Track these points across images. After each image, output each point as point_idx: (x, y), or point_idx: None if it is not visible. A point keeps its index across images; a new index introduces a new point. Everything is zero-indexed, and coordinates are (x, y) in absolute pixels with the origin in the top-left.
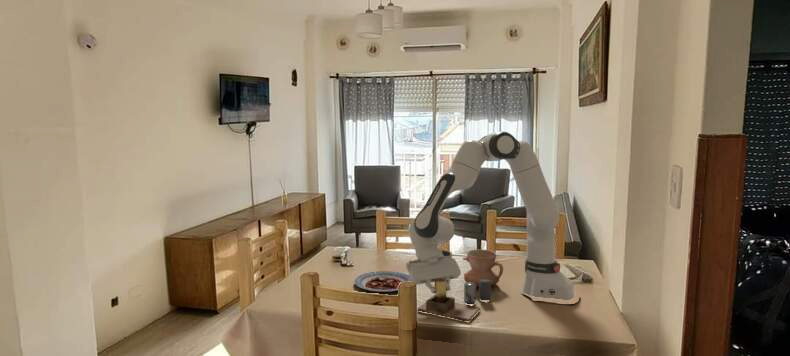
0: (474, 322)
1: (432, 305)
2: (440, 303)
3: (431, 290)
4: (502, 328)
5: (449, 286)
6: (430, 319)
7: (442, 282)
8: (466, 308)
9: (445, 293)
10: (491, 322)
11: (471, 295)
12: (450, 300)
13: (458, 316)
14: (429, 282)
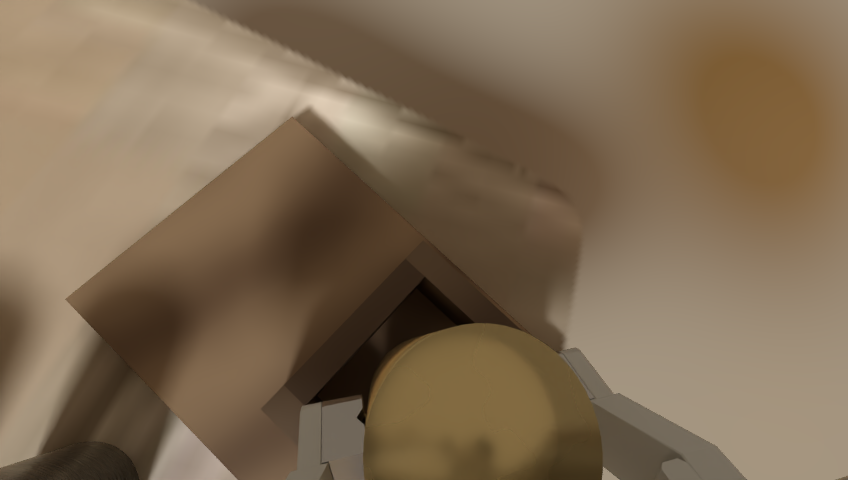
0: (253, 133)
1: None
2: (464, 289)
3: None
4: (122, 11)
5: (308, 427)
6: (529, 253)
7: (470, 368)
8: (205, 308)
9: (398, 348)
10: (135, 102)
11: (3, 473)
12: (338, 345)
13: (346, 175)
14: (692, 458)
